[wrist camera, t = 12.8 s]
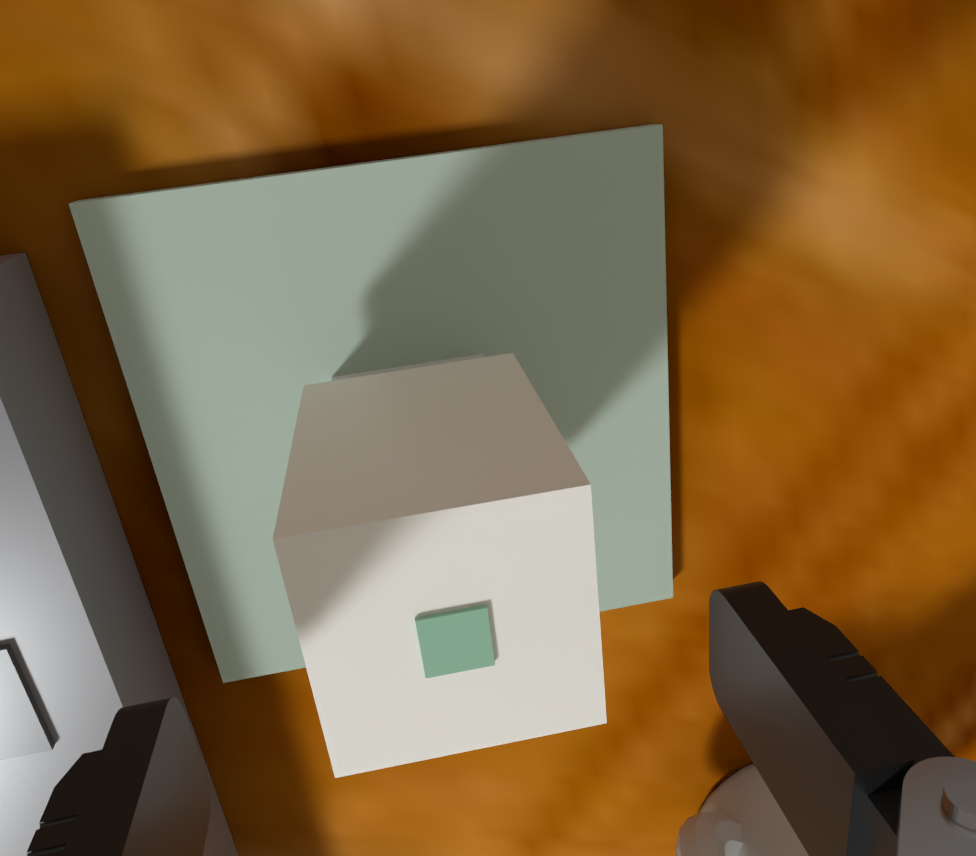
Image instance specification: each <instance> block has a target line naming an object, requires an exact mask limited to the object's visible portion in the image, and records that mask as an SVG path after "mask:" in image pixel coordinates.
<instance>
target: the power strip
mask: <svg viewBox="0 0 976 856" xmlns="http://www.w3.org/2000/svg"><path fill="white" fill-rule="evenodd" d="M171 697H176V698H178V699H179V701H180V702H181V704H182V706H183V708H184V711H185V714H186V716H187V719H188V722H189V725H190V727H191V730H192V733H193V736H194V738H195V741H196V744H197V747H198V749H199V752H200V755H201V758H202V760H203V763H204V766H205V769H206V771H207V775H208V779H209V785H210V794H211V812H210V820H209V826H208V831H207V836H206V841H205V846H204V852H203V856H239V855H238V852H237V850H236V847H235V844H234V841H233V838H232V835H231V833H230V830H229V827H228V824H227V821H226V818H225V816H224V813H223V810H222V807H221V804H220V801H219V799H218V796H217V793H216V790H215V787H214V784H213V782H212V779H211V776H210V773H209V770H208V767H207V765H206V762H205V759H204V756H203V753H202V750H201V748H200V745H199V742H198V739H197V736H196V733H195V731H194V728H193V725H192V722H191V719H190V716H189V714H188V711H187V708H186V705H185V702H184V699H183V697H182V694H181V691H180V688H179V685H178V682H177V680H176V677H175V674H174V671H173V668H172V665H171V663H170V660H169V657H168V654H167V651H166V648H165V646H164V643H163V640H162V637H161V634H160V631H159V629H158V626H157V623H156V620H155V617H154V614H153V612H152V609H151V606H150V603H149V600H148V597H147V594H146V592H145V589H144V586H143V583H142V580H141V577H140V575H139V572H138V569H137V566H136V563H135V560H134V558H133V555H132V552H131V549H130V546H129V543H128V541H127V538H126V535H125V532H124V529H123V526H122V524H121V521H120V518H119V515H118V512H117V509H116V507H115V504H114V501H113V498H112V495H111V492H110V490H109V487H108V484H107V481H106V478H105V475H104V473H103V470H102V467H101V464H100V461H99V458H98V456H97V453H96V450H95V447H94V444H93V441H92V439H91V436H90V433H89V430H88V427H87V424H86V422H85V419H84V416H83V413H82V410H81V407H80V405H79V402H78V399H77V396H76V393H75V390H74V388H73V385H72V382H71V379H70V376H69V373H68V371H67V368H66V365H65V362H64V359H63V356H62V354H61V351H60V348H59V345H58V342H57V339H56V337H55V334H54V331H53V328H52V325H51V322H50V320H49V317H48V314H47V311H46V308H45V305H44V303H43V300H42V297H41V294H40V291H39V288H38V286H37V283H36V280H35V277H34V274H33V271H32V269H31V266H30V263H29V260H28V257H27V254H26V252H24V253H17V254H10V255H3V256H0V856H27V850H28V848H29V846H30V843H31V841H32V839H33V836H34V834H35V831H36V830H38V829H39V828H40V823H39V822H40V820H41V817H42V815H43V813H44V810H45V808H46V806H47V803H48V801H49V799H50V796H51V794H52V792H53V789H54V787H55V786H56V785H57V783H58V782H59V781H60V780H61V779H62V778H63V776H64V775H65V774H66V773H67V772H68V770H69V769H70V768H71V767H72V766H73V765H74V763H75V762H76V761H77V760H78V759H79V757H80V756H81V755H82V754H83V753H88V752H93V751H98V750H102V748H103V746H104V743H105V740H106V738H107V735H108V732H109V730H110V727H111V724H112V722H113V719H114V717H115V715H116V713H117V711H118V710H119V709H120V708H122V707H126V706H131V705H136V704H141V703H146V702H151V701H156V700H161V699H166V698H171Z"/></svg>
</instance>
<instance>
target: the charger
mask: <svg viewBox="0 0 976 856" xmlns="http://www.w3.org/2000/svg"><path fill="white" fill-rule="evenodd" d="M273 543H274V547H275V550H276V554H277V558H278V562H279V566H280V570H281V573H282V577H283V581H284V585H285V589H286V592H287V596H288V600H289V604H290V608H291V612H292V615H293V619H294V623H295V627H296V631H297V634H298V638H299V642H300V646H301V650H302V654H303V657H304V661H305V665H306V669H307V673H308V676H309V680H310V684H311V688H312V692H313V695H314V699H315V703H316V707H317V711H318V715H319V718H320V722H321V726H322V730H323V734H324V737H325V741H326V745H327V749H328V753H329V757H330V760H331V764H332V768H333V772H334V776H335V778H338V777H343V776H348V775H353V774H358V773H363V772H368V771H372V770H377V769H382V768H387V767H392V766H397V765H402V764H407V763H412V762H417V761H422V760H427V759H432V758H437V757H442V756H447V755H452V754H457V753H462V752H466V751H471V750H476V749H481V748H486V747H491V746H496V745H501V744H506V743H511V742H516V741H521V740H526V739H531V738H536V737H541V736H546V735H551V734H556V733H561V732H565V731H570V730H575V729H580V728H585V727H590V726H595V725H600V724H605V723H607V719H606V704H605V689H604V674H603V659H602V644H601V629H600V614H599V599H598V584H597V569H596V554H595V539H594V524H593V509H592V494H591V484H590V482H589V480H588V479H587V477H586V475H585V474H584V472H583V470H582V469H581V467H580V465H579V464H578V462H577V460H576V459H575V457H574V455H573V453H572V452H571V450H570V448H569V447H568V445H567V443H566V442H565V440H564V438H563V437H562V435H561V433H560V432H559V430H558V428H557V427H556V425H555V423H554V421H553V420H552V418H551V416H550V415H549V413H548V411H547V410H546V408H545V406H544V405H543V403H542V401H541V400H540V398H539V396H538V395H537V393H536V391H535V389H534V388H533V386H532V384H531V383H530V381H529V379H528V378H527V376H526V374H525V373H524V371H523V369H522V368H521V366H520V364H519V363H518V361H517V359H516V357H515V356H514V354H513V353H509V354H502V355H496V356H489V357H485V355H484V353H483V354H477V355H470V356H464V357H457V358H451V359H444V360H438V361H432V362H425V363H419V364H412V365H406V366H399V367H393V368H386V369H380V370H373V371H367V372H361V373H354V374H348V375H341V376H335V377H332V380H331V381H328V382H322V383H316V384H309V385H304V386H303V391H302V396H301V401H300V406H299V411H298V416H297V421H296V426H295V431H294V436H293V441H292V446H291V451H290V456H289V461H288V466H287V471H286V476H285V480H284V485H283V490H282V495H281V500H280V505H279V510H278V515H277V520H276V525H275V530H274V535H273Z"/></svg>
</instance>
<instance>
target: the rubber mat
mask: <svg viewBox="0 0 976 856" xmlns="http://www.w3.org/2000/svg"><path fill="white" fill-rule="evenodd" d="M69 207H70V210H71V213H72V216H73V219H74V223H75V226H76V229H77V232H78V235H79V238H80V241H81V244H82V247H83V250H84V254H85V257H86V260H87V263H88V266H89V269H90V272H91V275H92V278H93V281H94V285H95V288H96V291H97V294H98V297H99V300H100V303H101V306H102V309H103V312H104V316H105V319H106V322H107V325H108V328H109V331H110V334H111V337H112V340H113V343H114V347H115V350H116V353H117V356H118V359H119V362H120V365H121V368H122V371H123V374H124V377H125V381H126V384H127V387H128V390H129V393H130V396H131V399H132V402H133V405H134V408H135V412H136V415H137V418H138V421H139V424H140V427H141V430H142V433H143V436H144V439H145V443H146V446H147V449H148V452H149V455H150V458H151V461H152V464H153V467H154V470H155V474H156V477H157V480H158V483H159V486H160V489H161V492H162V495H163V498H164V501H165V505H166V508H167V511H168V514H169V517H170V520H171V523H172V526H173V529H174V532H175V536H176V539H177V542H178V545H179V548H180V551H181V554H182V557H183V560H184V563H185V567H186V570H187V573H188V576H189V579H190V582H191V585H192V588H193V591H194V594H195V598H196V601H197V604H198V607H199V610H200V613H201V616H202V619H203V622H204V625H205V628H206V632H207V635H208V638H209V641H210V644H211V647H212V650H213V653H214V656H215V659H216V663H217V666H218V669H219V672H220V675H221V678H222V681H223V683H226V682H232V681H237V680H242V679H247V678H253V677H258V676H263V675H268V674H274V673H279V672H284V671H290V670H295V669H300V668H305V667H306V665H305V661H304V657H303V654H302V650H301V646H300V642H299V638H298V634H297V631H296V627H295V623H294V619H293V615H292V612H291V608H290V604H289V600H288V596H287V592H286V589H285V585H284V581H283V577H282V573H281V570H280V566H279V562H278V558H277V554H276V550H275V547H274V543H273V535H274V530H275V525H276V520H277V515H278V510H279V505H280V500H281V495H282V490H283V485H284V480H285V476H286V471H287V466H288V461H289V456H290V451H291V446H292V441H293V436H294V431H295V426H296V421H297V416H298V411H299V406H300V401H301V396H302V391H303V386H304V385H309V384H316V383H322V382H328V381H331V380H332V377H335V376H341V375H348V374H354V373H361V372H367V371H373V370H380V369H386V368H393V367H399V366H406V365H412V364H419V363H425V362H432V361H438V360H444V359H451V358H457V357H464V356H470V355H477V354H483V353H484V355H485V357H489V356H496V355H502V354H509V353H513V354H514V356H515V357H516V359H517V361H518V363H519V364H520V366H521V368H522V369H523V371H524V373H525V374H526V376H527V378H528V379H529V381H530V383H531V384H532V386H533V388H534V389H535V391H536V393H537V395H538V396H539V398H540V400H541V401H542V403H543V405H544V406H545V408H546V410H547V411H548V413H549V415H550V416H551V418H552V420H553V421H554V423H555V425H556V427H557V428H558V430H559V432H560V433H561V435H562V437H563V438H564V440H565V442H566V443H567V445H568V447H569V448H570V450H571V452H572V453H573V455H574V457H575V459H576V460H577V462H578V464H579V465H580V467H581V469H582V470H583V472H584V474H585V475H586V477H587V479H588V480H589V482H590V484H591V494H592V509H593V524H594V539H595V554H596V569H597V584H598V599H599V612H600V611H605V610H610V609H616V608H621V607H626V606H631V605H637V604H642V603H647V602H652V601H658V600H663V599H668V598H673V570H672V525H671V479H670V433H669V388H668V342H667V296H666V251H665V205H664V159H663V125H662V124H649V125H642V126H634V127H627V128H619V129H612V130H604V131H597V132H589V133H582V134H574V135H567V136H559V137H551V138H544V139H536V140H529V141H521V142H514V143H506V144H499V145H491V146H484V147H476V148H468V149H461V150H453V151H446V152H438V153H431V154H423V155H416V156H408V157H401V158H393V159H386V160H378V161H370V162H363V163H355V164H348V165H340V166H333V167H325V168H318V169H310V170H303V171H295V172H288V173H280V174H272V175H265V176H257V177H250V178H242V179H235V180H227V181H220V182H212V183H205V184H197V185H190V186H182V187H174V188H167V189H159V190H152V191H144V192H137V193H129V194H122V195H114V196H107V197H99V198H92V199H84V200H77V201H74V202H71V203H69Z"/></svg>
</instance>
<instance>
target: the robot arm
mask: <svg viewBox="0 0 976 856" xmlns="http://www.w3.org/2000/svg"><path fill="white" fill-rule="evenodd" d="M709 670H710V677H711V683H712V687H713V690H714V693H715V696H716V699H717V702H718V704H719V706H720V708H721V710H722V712H723V713H724V715H725V717H726V718H727V720H728V722H729V723H730V725H731V727H732V728H733V730H734V732H735V733H736V735H737V737H738V738H739V740H740V742H741V743H742V745H743V747H744V748H745V750H746V752H747V753H748V755H749V757H750V758H751V760H752V762H753V763H754V765H755V767H756V768H757V770H758V772H759V773H760V775H761V777H762V778H763V780H764V782H765V783H766V785H767V787H768V788H769V790H770V792H771V793H772V795H773V797H774V798H775V800H776V802H777V803H778V805H779V807H780V808H781V810H782V812H783V813H784V815H785V817H786V818H787V820H788V822H789V823H790V825H791V827H792V828H793V830H794V832H795V833H796V835H797V837H798V838H799V840H800V842H801V843H802V845H803V847H804V848H805V850H806V852H807V853H808V855H809V856H976V762H975V761H972V760H968V759H963V758H958V757H954V756H953V755H952V754H951V753H950V751H949V750H948V749H947V748H946V747H945V746H944V745H943V744H942V743H941V742H940V740H939V739H938V738H937V737H936V736H935V735H934V734H933V733H932V732H931V731H930V729H929V728H928V727H927V726H926V725H925V724H924V723H923V722H922V721H921V720H920V718H919V717H918V716H917V715H916V714H915V713H914V712H913V711H912V710H911V708H910V707H909V706H908V705H907V704H906V703H905V702H904V701H903V700H902V699H901V697H900V696H899V695H898V694H897V693H896V692H895V691H894V690H893V689H892V688H891V686H890V685H889V684H888V683H887V682H886V681H885V680H884V679H883V678H882V677H878V675H877V671H876V670H875V669H874V668H873V667H872V666H871V664H870V663H869V662H868V661H867V660H866V659H865V658H864V657H863V656H860V655H859V654H858V650H857V649H856V648H855V647H854V646H853V645H852V643H851V642H850V641H849V640H848V639H847V638H846V637H845V636H844V635H843V634H842V632H841V631H840V630H839V629H838V628H837V627H836V626H835V625H833V624H831V623H830V622H828V621H826V620H824V619H823V618H821V617H819V616H817V615H816V614H814V613H812V612H811V611H809V610H807V609H805V608H804V607H803V608H798V609H794V610H789V611H788V610H787V609H786V607H785V606H784V605H783V604H782V603H781V601H780V600H779V599H778V598H777V597H776V596H775V594H774V593H773V592H772V591H771V590H770V588H769V587H768V586H767V585H766V584H764V583H763V582H753V583H748V584H743V585H738V586H733V587H728V588H723V589H718V590H714V591H713V592H712V593H711V596H710V603H709ZM210 812H211V794H210V785H209V779H208V775H207V771H206V769H205V766H204V763H203V760H202V758H201V755H200V752H199V749H198V747H197V744H196V741H195V738H194V736H193V733H192V730H191V727H190V725H189V722H188V719H187V716H186V714H185V711H184V708H183V706H182V704H181V702H180V701H179V699H178V698H176V697H171V698H166V699H161V700H156V701H151V702H146V703H141V704H136V705H131V706H126V707H122V708H120V709H119V710H118V711H117V713H116V715H115V717H114V719H113V722H112V724H111V727H110V730H109V732H108V735H107V738H106V740H105V743H104V746H103V748H102V750H98V751H93V752H88V753H83V754H82V755H81V756H80V757H79V759H78V760H77V761H76V762H75V763H74V765H73V766H72V767H71V768H70V769H69V770H68V772H67V773H66V774H65V775H64V776H63V778H62V779H61V780H60V781H59V782H58V783H57V785H56V786H55V787H54V789H53V792H52V794H51V796H50V799H49V801H48V803H47V806H46V808H45V810H44V813H43V815H42V817H41V820H40V822H39V823H40V828H39V829H38V830H36V831H35V834H34V836H33V839H32V841H31V843H30V846H29V848H28V850H27V856H203V852H204V846H205V841H206V836H207V831H208V826H209V820H210Z"/></svg>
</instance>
